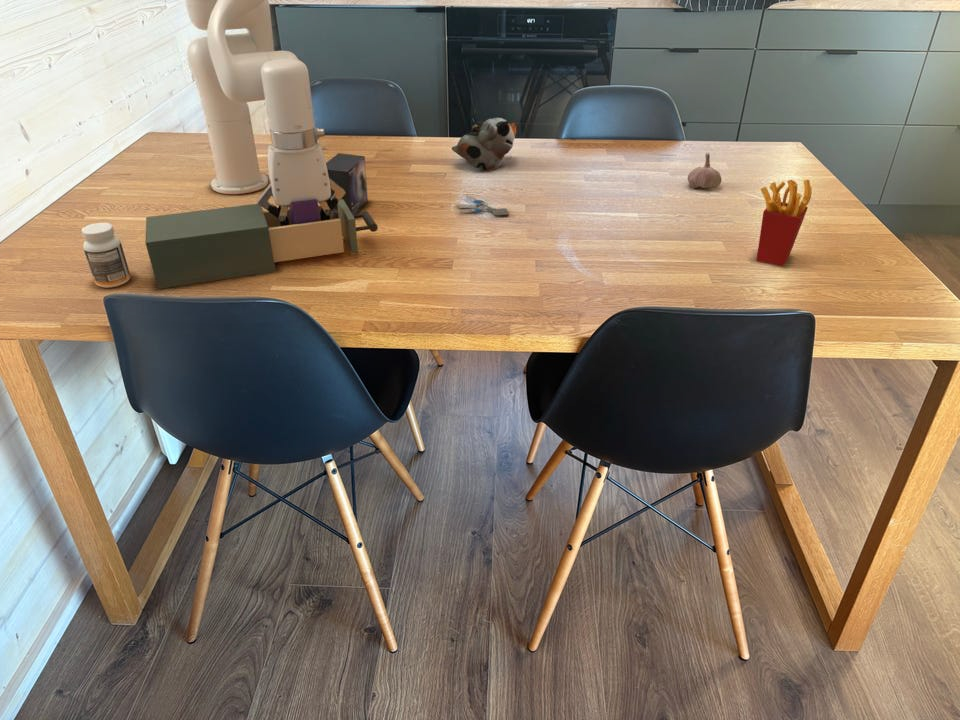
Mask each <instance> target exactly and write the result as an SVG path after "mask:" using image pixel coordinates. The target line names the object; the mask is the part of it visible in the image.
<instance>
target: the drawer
mask: <svg viewBox="0 0 960 720" xmlns="http://www.w3.org/2000/svg"><path fill="white" fill-rule="evenodd" d="M321 208H322V207H321V206H320V204H319V203H318V209H319V217H320V212H321ZM263 213H264V216H265V219H266V222H267V225H268V229H269V235H270V240H271V246H272V252H273V258H274V263H278V262H279V263H280V262H287V261H293V260H294V261H295V260H301V259H306V258H314V257H320V256H327V255H333V254H334V255H335V254H340V253H344V252H345V249H344V248H345V247H344V242H345V243H346V246H347V247H348V249H349V252H350V253H351V255H356V254H358V253H359V246H358V235H357V232H360V231H367V230H369V231H370V232H372V233H373V232H374V233H375V232H376V231H378V229H379V227H378V224H377V223H376V222H375V220H374V218H373V216H372V215H371V214H370V212H369V211H368V210H363V211H362V210H361V213H357V214H356V215H352V213H351V211H350V210H349V208H348V206H347V205H346V203H345V202H344V200H343V199H341V200H340V201H339V202H338V213H339V218H334V217H333V211H331V214H330V220H325V221H321V217H320V221H318V222H310V223H303V224H295V225H292V223H291V217H290V210H289V208H288V212H287V215H286V216H287V217H288V220H289V224H290V225H287V226H281V224H280V220H279V219H278V218H277V217H275V216H274V215H272V214H271V213H270V212H269V211H267V210H263ZM356 219H362V220H363V221H364V223H365V225H362V226H357V223H356Z"/></svg>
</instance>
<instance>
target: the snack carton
mask: <svg viewBox="0 0 960 720" xmlns="http://www.w3.org/2000/svg"><path fill="white" fill-rule="evenodd" d="M318 204H319V202H318V201H317V199H314V200H306V201H298V202H291V206H289V210H290V217H291V223H292V225H295V224H303V223H310V222H318V221H320V217H319V209H318Z"/></svg>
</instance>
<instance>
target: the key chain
mask: <svg viewBox="0 0 960 720" xmlns="http://www.w3.org/2000/svg"><path fill="white" fill-rule="evenodd" d="M465 196H466V197H468V198H470V199H471V200H473V203H474V204H460V205H458V208H459V212H480V211H489V212H492V214H493V216H506V215H509V214H510V211H508V209H507V208H505V207H503V208H502V207H501V208H495V207H491V206H489V203H488V202H487V201H484V200H482V199H477V198H474V197H472V196H471V195H469V194H465ZM485 203H486V205H480V206H479V207H478V205H479V204H485Z"/></svg>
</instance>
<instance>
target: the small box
mask: <svg viewBox="0 0 960 720" xmlns="http://www.w3.org/2000/svg"><path fill="white" fill-rule="evenodd" d="M326 165H327V170H328V176H329V178H330V179H331V180H333V181H334V182H335V183H336V184H338V185H339V186H340V187H342V188H343V189H344V191H345V195H344V196H343V197H342V199H343V200H344V202H345V203H346V205H347V206H348V208H349V210H350V211H351V213H352V215H357V214H359V212H360V211H361V210H362V209H363V208H364V207H365V206H366V204H368V203H369V199H368V198H369V197H368V187H367V186H368V185H367V183H368V182H367V169H366V157H365V155H359V154H349V153H341V152H338V153H337V154H335V155H334V156H333V157H332V158H330V159H329V160H328V161H327V162H326ZM330 189H331V188H330ZM334 193H335V191H333V190H332V189H331V196H330V197H332V196H333V194H334ZM329 199H330V198H329ZM329 199H328V200H329ZM328 200H326V202H327V201H328ZM332 211H333V218H335V219H339V213H338V204H337V205H336V207H335V208H334V209H333V210H332Z"/></svg>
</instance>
